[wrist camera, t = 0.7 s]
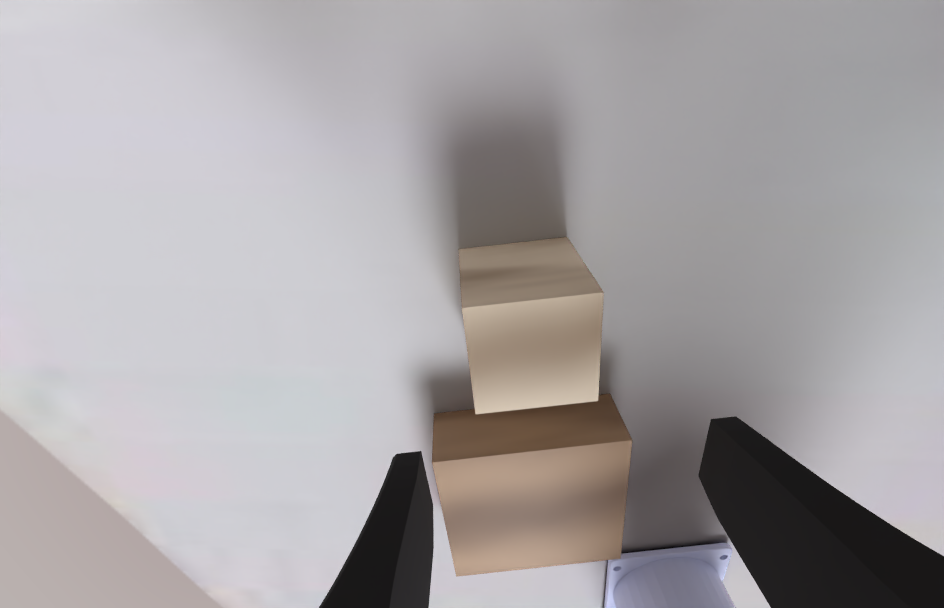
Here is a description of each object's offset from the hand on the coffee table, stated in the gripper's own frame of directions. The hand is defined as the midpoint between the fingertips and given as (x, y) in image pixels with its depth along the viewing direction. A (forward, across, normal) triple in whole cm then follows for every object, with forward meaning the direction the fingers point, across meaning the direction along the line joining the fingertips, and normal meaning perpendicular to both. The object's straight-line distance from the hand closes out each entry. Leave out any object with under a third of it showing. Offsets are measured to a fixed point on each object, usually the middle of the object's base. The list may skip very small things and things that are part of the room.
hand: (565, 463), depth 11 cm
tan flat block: (+10, 0, +11) cm, 15 cm away
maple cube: (+10, 0, 0) cm, 10 cm away
